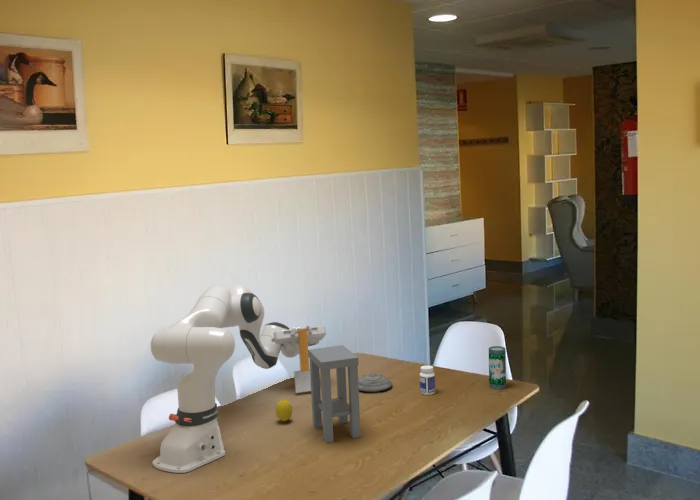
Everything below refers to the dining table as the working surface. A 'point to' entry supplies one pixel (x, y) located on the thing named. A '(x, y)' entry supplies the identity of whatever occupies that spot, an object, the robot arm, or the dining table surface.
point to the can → (497, 367)
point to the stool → (338, 406)
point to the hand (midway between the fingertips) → (303, 328)
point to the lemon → (284, 410)
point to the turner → (303, 364)
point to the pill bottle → (427, 380)
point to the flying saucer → (373, 383)
